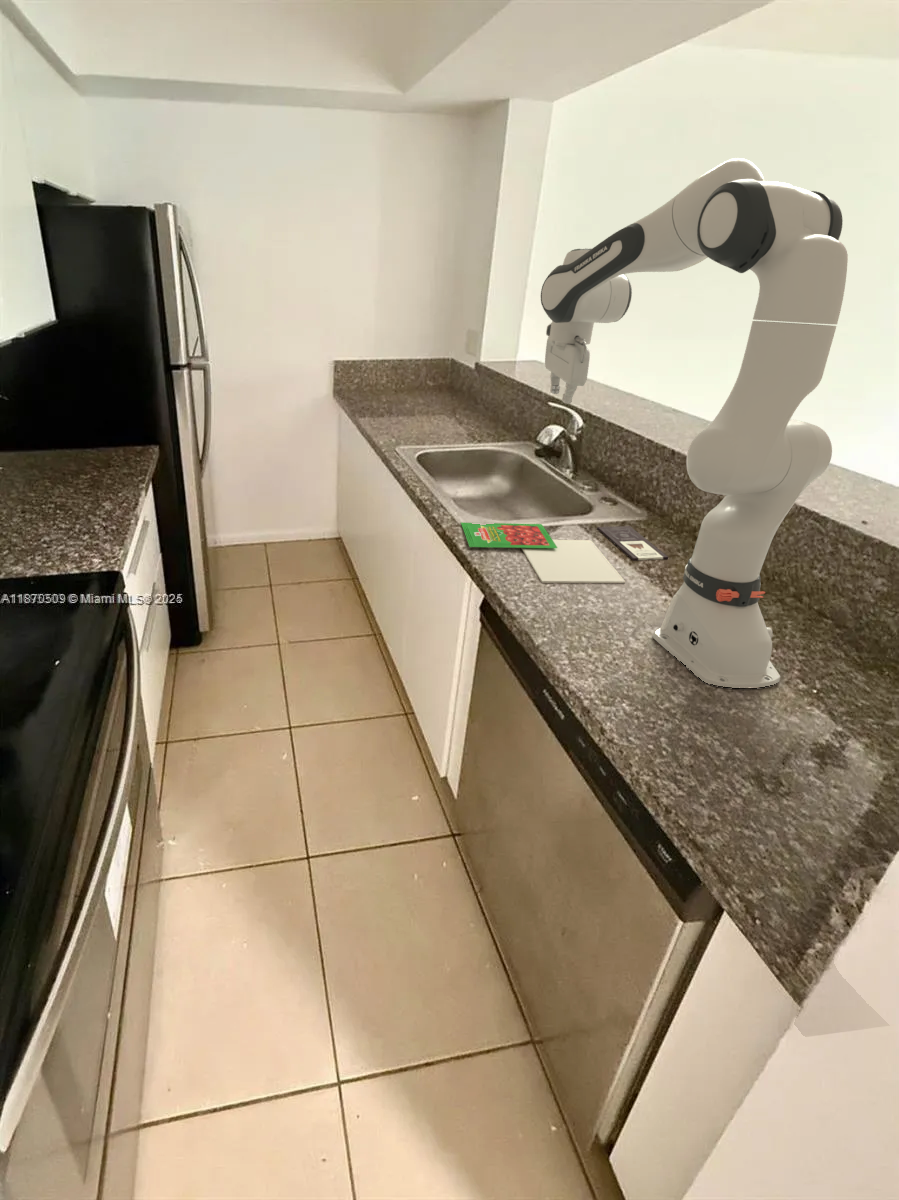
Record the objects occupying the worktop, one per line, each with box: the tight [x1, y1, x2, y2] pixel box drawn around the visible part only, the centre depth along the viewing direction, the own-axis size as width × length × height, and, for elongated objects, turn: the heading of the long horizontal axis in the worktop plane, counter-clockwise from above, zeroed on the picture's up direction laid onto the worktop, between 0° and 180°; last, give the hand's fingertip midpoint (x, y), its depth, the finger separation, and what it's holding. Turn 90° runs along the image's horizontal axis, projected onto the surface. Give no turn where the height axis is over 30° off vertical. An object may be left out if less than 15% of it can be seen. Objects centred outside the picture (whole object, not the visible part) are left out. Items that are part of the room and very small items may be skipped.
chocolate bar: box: [596, 525, 669, 561], centre depth 154 cm, size 9×1×18 cm
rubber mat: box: [521, 539, 626, 584], centre depth 142 cm, size 21×18×1 cm
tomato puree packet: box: [460, 522, 557, 549], centre depth 151 cm, size 15×1×20 cm
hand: (560, 398), depth 148 cm, fingers open, 8 cm apart
